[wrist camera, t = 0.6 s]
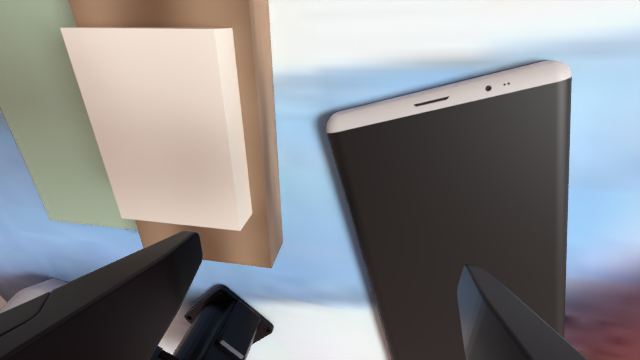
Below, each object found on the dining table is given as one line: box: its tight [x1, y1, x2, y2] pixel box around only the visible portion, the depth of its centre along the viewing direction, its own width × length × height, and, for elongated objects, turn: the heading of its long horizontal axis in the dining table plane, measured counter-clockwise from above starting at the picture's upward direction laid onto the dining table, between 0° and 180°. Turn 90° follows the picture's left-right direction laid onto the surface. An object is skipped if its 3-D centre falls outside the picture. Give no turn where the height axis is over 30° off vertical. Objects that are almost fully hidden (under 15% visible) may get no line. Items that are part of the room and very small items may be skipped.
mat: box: [0, 0, 138, 230], centre depth 23 cm, size 12×20×1 cm, turn 0°
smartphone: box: [326, 60, 572, 360], centre depth 24 cm, size 13×27×2 cm, turn 16°
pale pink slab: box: [60, 27, 252, 231], centre depth 18 cm, size 11×8×2 cm
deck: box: [68, 0, 283, 268], centre depth 21 cm, size 10×20×3 cm, turn 0°
